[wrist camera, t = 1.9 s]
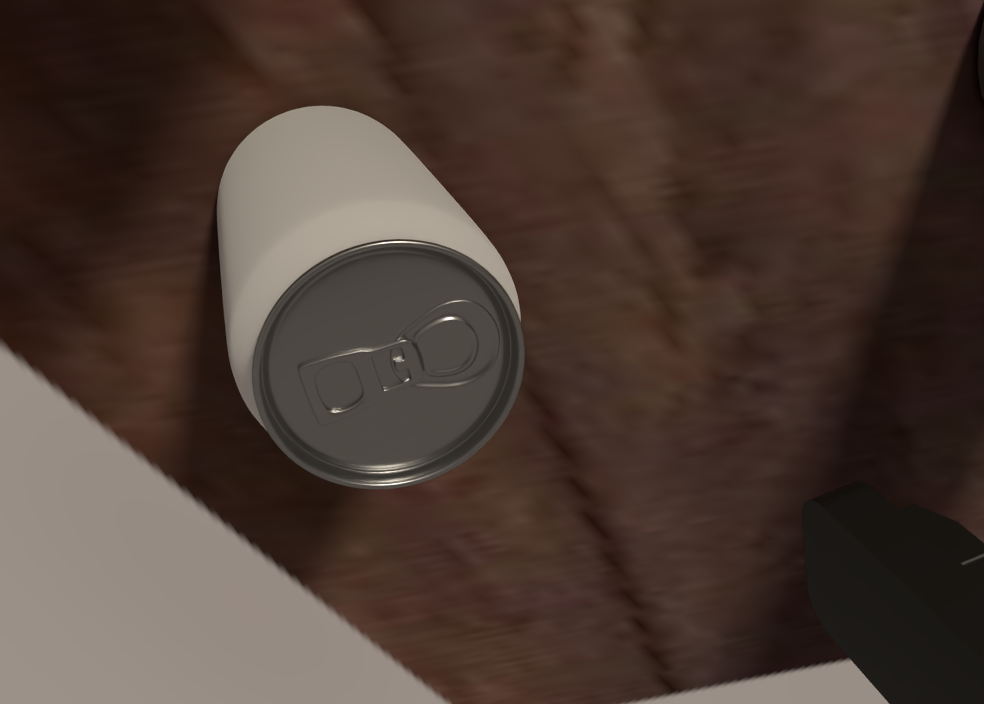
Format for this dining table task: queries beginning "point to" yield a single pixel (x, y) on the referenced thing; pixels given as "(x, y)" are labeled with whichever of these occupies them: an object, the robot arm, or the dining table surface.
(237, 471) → the dining table surface
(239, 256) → the can
